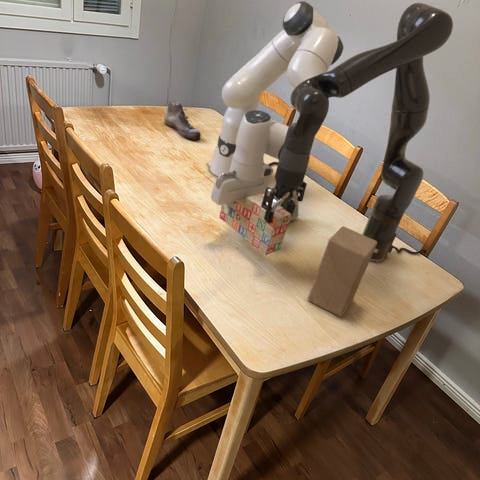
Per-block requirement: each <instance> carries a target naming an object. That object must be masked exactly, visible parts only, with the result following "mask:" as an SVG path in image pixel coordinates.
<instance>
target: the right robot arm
mask: <svg viewBox="0 0 480 480" xmlns="http://www.w3.org/2000/svg"><path fill="white" fill-rule="evenodd" d="M396 29H397V32H396V41H393V42H390V43H388V44H386V45H382V46H379V47H375V48H372V49H369V50H365V51H362V52H360V53H357V54H355V55H353V56H350V58H348V59H346V60H344V61H343V62H341V63H339V64H338V65H337V66H335V67H334V68H332V69H331V70H328V71H327V72H325V73H322V74H319V75H317V76H314V77H312V78H309V79H307V80H305V81H303V82H301V83H300V84H299V85H298V86H296V88H295V89H292V92H291V94H290V98H289V99H290V104H291V106H292V108H293V109H294V110H295V111H296V112H298V114H299V116H298V118H297V121H296V122H292V123H291V124H289V125H288V126H289V127H288V130H287V133H286V137H285V141H284V145H283V148H282V151H281V154H280V157H279V160H278V161H277V162H278V164H277V166H276V169H275V170H276V171H275V174H274V179H275V186H274V187H272V188H271V187H270V186H269V187H267V188H266V190H265V194H263V195H264V197H263V201H262V205H261V207H262V208H263V209H265V210H266V212H265V216H264V220H265V221H266V222H267V223H272V219H273V215H274V211H275V209H276V208H277V207H278V206H280V205H281V204H282V202H284V201H286V200H289V201H290V202H288V205H287V208H286V211H287V212H289V213H290V214H291V216H293V213H294V210H295V206H296V205H297V204H298V205H299V203H301V202H303V200H304V197H305V193H306V189H307V185H308V184H307V182H305V177H306V173H307V169H308V167H309V163H310V157H311V152H312V149H313V145H314V141H315V137H316V135H317V134H318V132H319V130H320V129H321V127H322V125H323V123H324V122H325V120H326V118H327V116H328V113H329V108H330V98H337V99H342V98H345V97H347V96H348V95H349V96H350V94H352V93H354V92H355V91H356V90H357V91H358V90H359V89H360V88H362V87H363V86H364V85H367V84H368V83H370V82H372V81H373V80H375V79H376V78H378V77H381V76H383V75H385V74H387V73H388V72H391V71H393V70H395V78H394V88H393V89H394V90H393V97H392V104H391V113H390V123H389V132H388V137H387V143H386V145H387V146H386V149H385V153H384V158H383V162H382V166H381V173H380V176H381V180H382V182H383V183H384V184H385V185H387V186H388V187H390V188H391V189H392V190H394V193H393V195H391V194H381V195H379V196H377V197H376V200H375V202H374V204H373V207H372V209H371V212H370V215H369V217H368V219H367V222H366V224H365V227H364V229H363V231H362V233H361V234H362V235H364V236H366V237H368V238H371V239H373V240H375V241H377V245H376V247H375V250H374V252H373V254H372V257H371V259H370V261H369V262H375V263H377V262H379V263H380V262H382V261H384V259H387V257H388V254H390V253H392V252H393V249H394V250H395V251H396V252H397V253H401V251H406V252H408V253H410V254H413V255H418V254H420V253H422V252H423V253H426V254H427V250H426V249H423V248H422V249H420V250H418V251H417V250H416V251H412V250H410V249H408V248H405V247H400V248H398V247H396V246H394V245H393V244H394V242H395V239H396V237H397V233H396V232H397V229H398V228H399V225H400V223H401V221H402V219H403V216H404V214H405V212H406V210H407V209H408V208H409V206H410V205H411V203H412V201H413V200H414V197H415V195H416V193H417V191H418V190H419V188H420V186H421V184H422V182H423V179H424V170H423V167H421V166H420V165H417V164H416V163H414V162H412V161H411V160H408V159H407V158H406V151H407V146H408V145H409V142H410V141H411V140H412V139H414V137H415V136H416V135H417V134H419V133H420V131H421V130H422V129H423V128H424V126H425V125H426V122H427V119H428V115H429V114H428V112H429V108H430V100H431V97H430V96H431V95H430V89H429V84H428V80H427V77H426V72H425V68H424V57H425V56H427V55H429V54H432V53H434V52H435V51H437V50H439V49H440V48H441V47H443V46H444V45H445V44H446V43H447V41H448V40H449V39H450V37H451V35H452V32H453V29H454V20H453V17H452V16H451V15H450V14H449V13H448V12H446V11H444V10H442V9H440V8H437V7H435V6H432V5H429V4H427V3H423V2H415V3H412V4H410V5H408V7H406V8H405V10H404V11H403V12H402V14H401V15H400V18H399V22H398V24H397V28H396ZM275 196H276V198H277V199H278V200H279V201H276V200H275V199H274V198H275ZM266 202H268V203H267V204H266ZM272 203H275V204H274V205H273V207H272Z"/></svg>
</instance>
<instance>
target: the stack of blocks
mask: <svg viewBox="0 0 480 480" xmlns="http://www.w3.org/2000/svg"><path fill="white" fill-rule="evenodd" d="M263 197H264V194H257V195H254V196H250V197H247V198H244V199H240V200H236V201H235V202H231V205H229V207H230V208H231V209H232V211H231V213H230V214H225V213H224V205H220V206H221V207H220V212H219V217H218V218H219V219H220V220H222V221H223V222H224V223H225V224H226V225H228V226H229V227H230V228H231V229H233V230H234V231H235V232H236V233H237V234H239V235H240V236H241V237H242V238H244V239H246V241H248V242H249V243H250V244H252V246H254V247H255V248H256V249H258V251H260V252H261V253H263V254H264V255H265V256H267V255H270V254H271V253H274V252H277V251H280V250H281V249H282V245H283V241H284V239H285V238H284V237H285V236H286V232H287V230H288V226H289V223H290V222H289V220H290V217H291V214H290V213H289V212H287V211H286V210H285V209H283V207H281V206H278V207H277V208H276V209H275V211H274V215H273V219H272V223H267V222H266V221H265V220H264V216H265V212H266V210H265V209H263V208H262V207H261V205H262V201H263ZM267 203H268V202H266V204H267ZM274 204H275V203H272V207H273V205H274Z"/></svg>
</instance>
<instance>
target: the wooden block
mask: <svg viewBox="0 0 480 480" xmlns="http://www.w3.org/2000/svg"><path fill="white" fill-rule="evenodd" d="M362 234H363V233H360V232H357V231H355V230H353V229H352V228H351V229H350V228H348V227H346V226H341V227H340V228H339V229H338V230H337V231H336V232H335V233H334V234H333V235H332V236H331V237H330V239H328V242H327V244H326V247H325V250H324V253H323V255H322V258H321V261H320V264H319V267H318V269H317V273H316V275H315V278H314V281H313V283H312V287H311V289H310V292H309V295H308V297H307V301H309V302H311V303H312V304H314V305H317V306H318V307H320V308H322V309H323V310H325V311H327V312H329V313H331V314H333V315H335V316H337V317H339V318H341V317H343V316H344V313H346V311H347V309H348V308H349V306H350V305H351V303H352V302H353V300H354V298H355V296H356V293H357V291H358V289H359V287H360V285H361V282H362V280H363V278H364V274H365V273H366V270H367V268H368V265H369V263H370V262H371V261H370V259H371V257H372V254H373V252H374V250H375V247H376V245H377V241H375V240H373V239H371V238H368V237H366V236H364V235H362Z"/></svg>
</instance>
